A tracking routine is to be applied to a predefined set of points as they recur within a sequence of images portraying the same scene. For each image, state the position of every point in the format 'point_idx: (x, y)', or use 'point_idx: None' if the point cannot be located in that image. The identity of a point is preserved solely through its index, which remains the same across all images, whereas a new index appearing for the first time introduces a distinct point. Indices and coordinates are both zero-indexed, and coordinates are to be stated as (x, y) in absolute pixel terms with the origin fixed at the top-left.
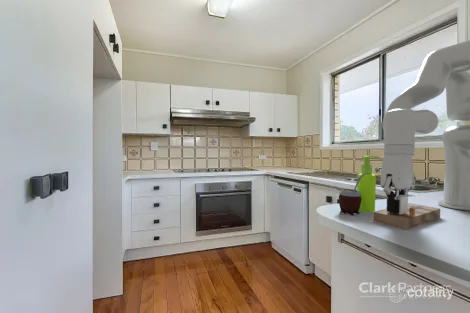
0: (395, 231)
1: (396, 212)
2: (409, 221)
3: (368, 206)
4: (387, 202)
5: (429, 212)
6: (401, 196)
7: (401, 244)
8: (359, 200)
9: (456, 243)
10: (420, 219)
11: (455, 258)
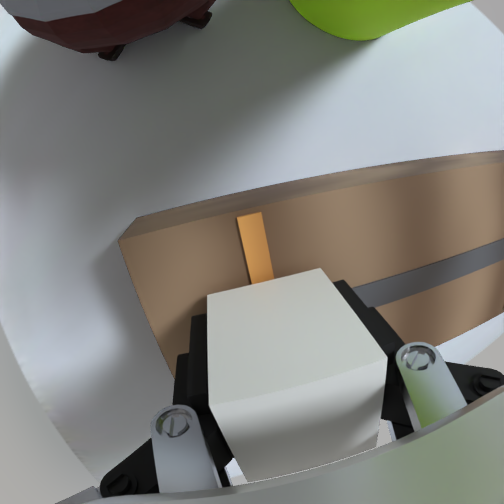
0: (127, 371)
1: None
2: None
3: (330, 10)
4: (190, 366)
5: (463, 330)
6: (301, 459)
7: (62, 431)
8: (125, 29)
9: None
10: None
11: None
